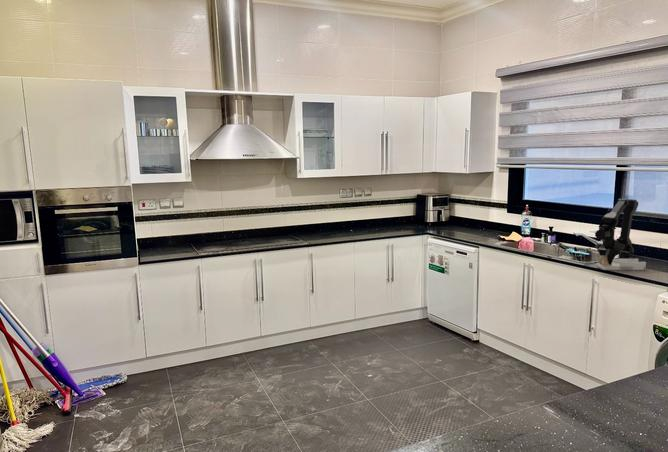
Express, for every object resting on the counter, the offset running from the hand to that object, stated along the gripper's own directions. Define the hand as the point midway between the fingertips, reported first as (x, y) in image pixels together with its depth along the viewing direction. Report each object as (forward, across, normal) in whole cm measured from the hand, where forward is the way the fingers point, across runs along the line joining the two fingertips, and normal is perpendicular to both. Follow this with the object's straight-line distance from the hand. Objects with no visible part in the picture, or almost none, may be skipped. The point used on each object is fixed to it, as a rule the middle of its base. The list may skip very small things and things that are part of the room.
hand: (606, 262), depth 272 cm
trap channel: (+3, 0, -8) cm, 9 cm away
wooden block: (+1, 0, 0) cm, 1 cm away
